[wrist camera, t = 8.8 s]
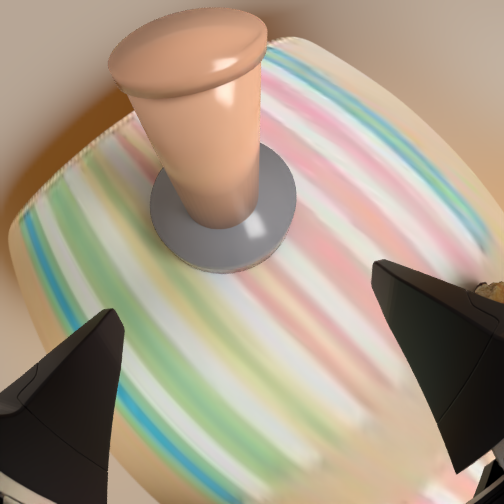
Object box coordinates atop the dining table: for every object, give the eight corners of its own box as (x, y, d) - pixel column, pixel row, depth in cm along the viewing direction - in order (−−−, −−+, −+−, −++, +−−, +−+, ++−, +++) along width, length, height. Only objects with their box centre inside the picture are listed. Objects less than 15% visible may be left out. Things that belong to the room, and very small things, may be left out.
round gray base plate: (222, 304, 20) (218, 300, 18) (136, 211, 22) (125, 198, 20) (319, 206, 22) (326, 192, 20) (227, 134, 24) (225, 116, 22)
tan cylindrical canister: (238, 245, 19) (209, 95, 6) (167, 212, 19) (79, 76, 7) (274, 178, 20) (291, 18, 8) (206, 152, 21) (172, 6, 8)
